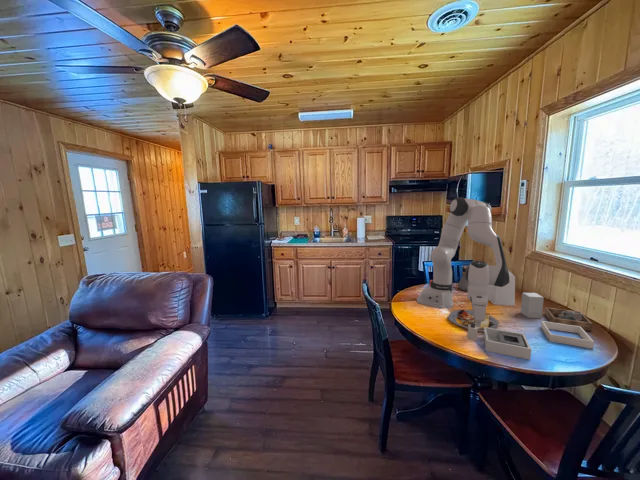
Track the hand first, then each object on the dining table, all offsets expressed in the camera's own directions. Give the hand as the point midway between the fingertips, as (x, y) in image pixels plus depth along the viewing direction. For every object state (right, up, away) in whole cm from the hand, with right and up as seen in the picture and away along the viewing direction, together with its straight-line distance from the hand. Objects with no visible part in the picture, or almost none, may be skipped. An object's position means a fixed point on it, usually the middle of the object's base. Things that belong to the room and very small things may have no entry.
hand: (477, 322), depth 128 cm
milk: (+42, 0, +44) cm, 61 cm away
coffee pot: (+37, +3, +66) cm, 75 cm away
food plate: (+8, -6, +18) cm, 21 cm away
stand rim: (+58, -4, +15) cm, 60 cm away
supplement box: (+45, -4, +23) cm, 51 cm away
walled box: (+9, -9, -7) cm, 15 cm away
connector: (-1, -8, +2) cm, 9 cm away
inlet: (+11, -10, -8) cm, 16 cm away
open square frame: (+43, -7, 0) cm, 44 cm away
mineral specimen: (+58, -5, +14) cm, 60 cm away
